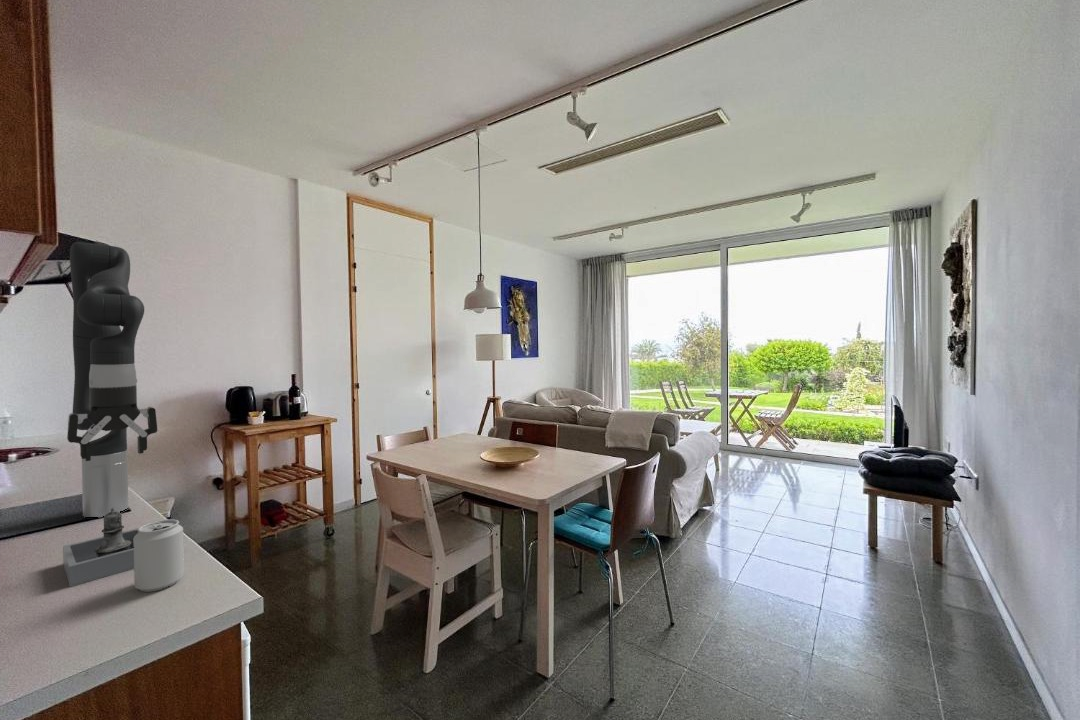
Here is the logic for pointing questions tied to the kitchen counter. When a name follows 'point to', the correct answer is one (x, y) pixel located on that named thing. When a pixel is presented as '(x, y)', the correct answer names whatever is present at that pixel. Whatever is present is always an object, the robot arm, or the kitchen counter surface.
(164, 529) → the can
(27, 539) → the kitchen counter surface
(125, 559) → the bin
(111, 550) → the chess piece
